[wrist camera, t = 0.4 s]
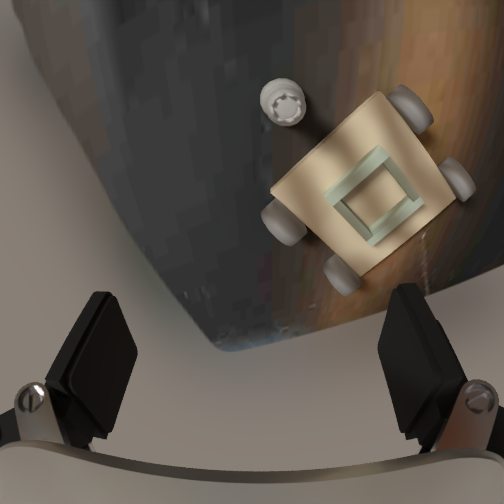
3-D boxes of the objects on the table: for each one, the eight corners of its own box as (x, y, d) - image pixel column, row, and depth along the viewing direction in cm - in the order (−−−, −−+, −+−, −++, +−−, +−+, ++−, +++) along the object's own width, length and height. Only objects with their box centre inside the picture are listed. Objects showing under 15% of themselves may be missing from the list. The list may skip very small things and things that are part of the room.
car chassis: (389, 79, 27) (408, 82, 23) (462, 184, 33) (483, 201, 28) (258, 200, 36) (256, 221, 32) (346, 280, 41) (354, 305, 37)
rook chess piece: (307, 116, 30) (319, 131, 24) (264, 123, 31) (263, 140, 24) (300, 75, 28) (309, 76, 21) (255, 82, 29) (251, 86, 22)
